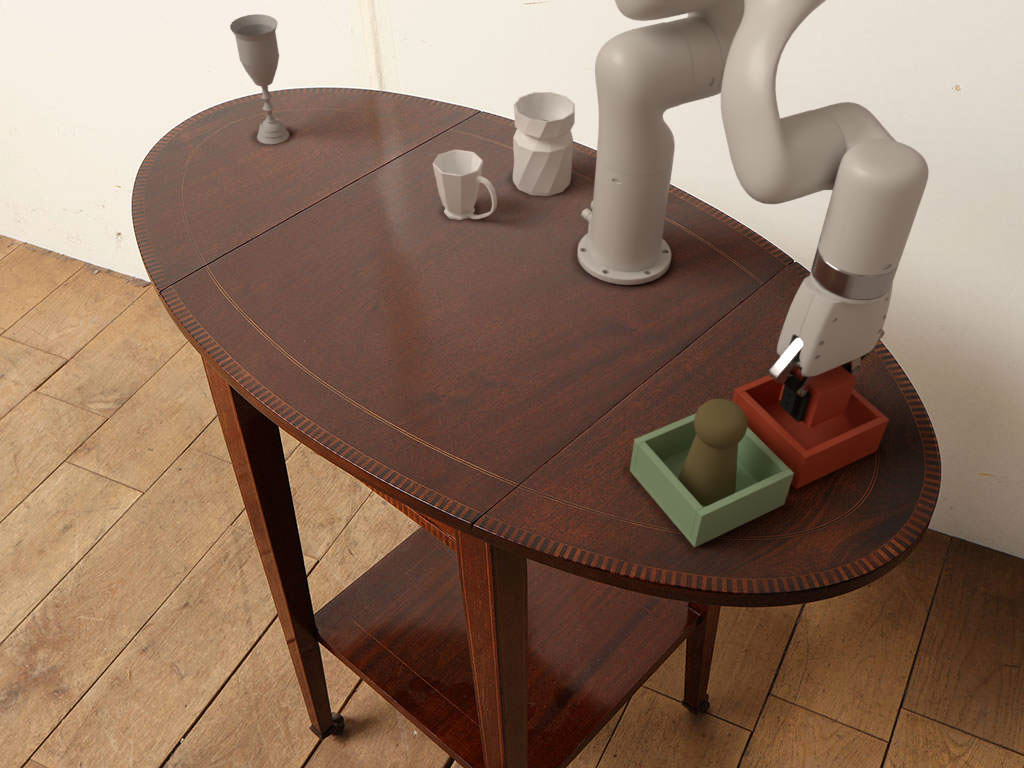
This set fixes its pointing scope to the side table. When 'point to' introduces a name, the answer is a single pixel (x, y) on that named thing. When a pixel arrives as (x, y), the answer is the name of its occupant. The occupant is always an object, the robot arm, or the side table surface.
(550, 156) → the vase
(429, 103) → the side table surface
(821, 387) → the rust block
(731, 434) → the olive brown pawn
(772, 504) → the sage bin
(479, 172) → the cup
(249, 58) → the chalice
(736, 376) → the side table surface
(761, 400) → the rust bin
